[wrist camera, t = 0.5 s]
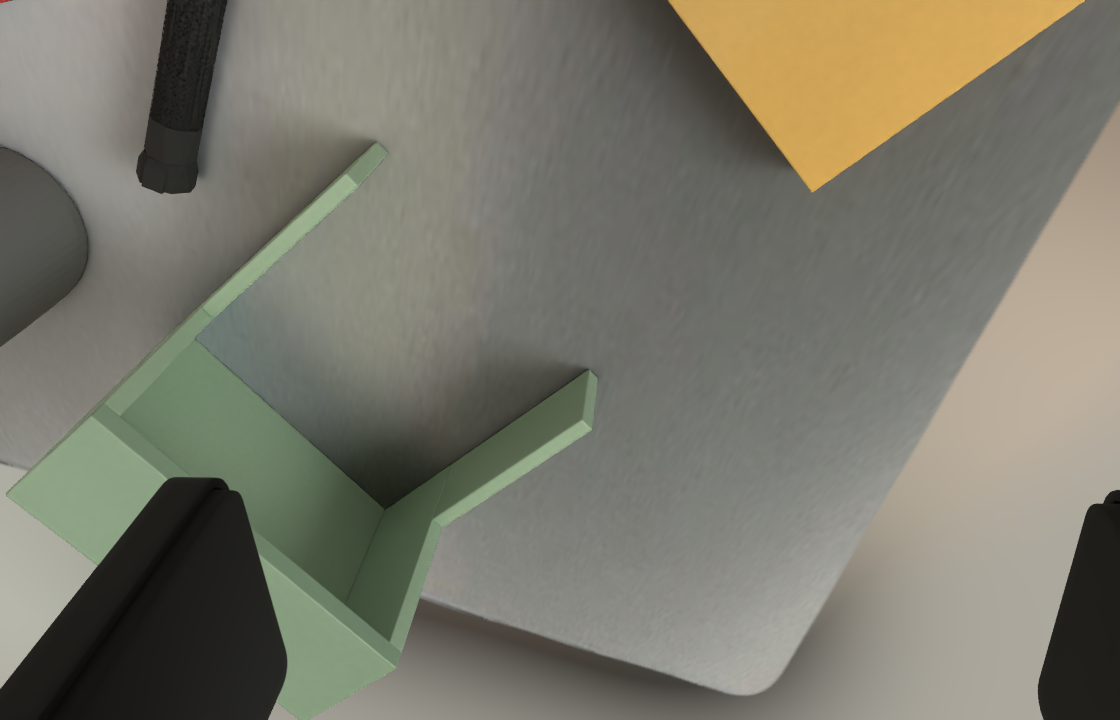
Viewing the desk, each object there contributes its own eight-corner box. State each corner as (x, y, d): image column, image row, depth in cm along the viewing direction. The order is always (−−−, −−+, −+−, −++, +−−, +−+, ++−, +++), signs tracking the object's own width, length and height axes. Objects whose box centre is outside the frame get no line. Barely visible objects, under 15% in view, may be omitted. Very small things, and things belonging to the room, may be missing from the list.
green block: (377, 140, 43) (259, 259, 31) (598, 378, 48) (576, 563, 36) (170, 332, 50) (3, 495, 37) (385, 524, 55) (303, 724, 42)
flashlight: (281, -174, 37) (252, -176, 35) (209, 182, 45) (181, 203, 43) (211, -206, 37) (176, -210, 34) (150, 159, 45) (119, 178, 42)
